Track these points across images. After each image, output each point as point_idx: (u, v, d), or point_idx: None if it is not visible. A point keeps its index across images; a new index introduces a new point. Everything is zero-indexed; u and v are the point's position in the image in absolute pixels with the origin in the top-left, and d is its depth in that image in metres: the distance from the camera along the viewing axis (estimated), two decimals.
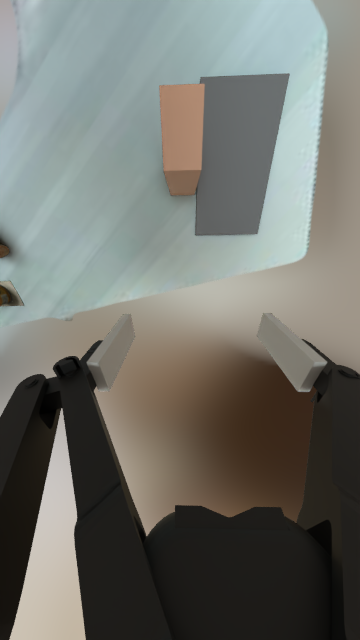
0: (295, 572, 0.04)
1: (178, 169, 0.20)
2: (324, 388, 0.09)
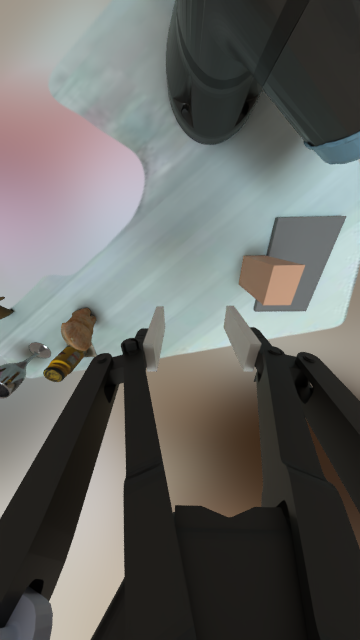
0: (296, 572, 0.04)
1: (274, 304, 0.28)
2: (261, 368, 0.10)
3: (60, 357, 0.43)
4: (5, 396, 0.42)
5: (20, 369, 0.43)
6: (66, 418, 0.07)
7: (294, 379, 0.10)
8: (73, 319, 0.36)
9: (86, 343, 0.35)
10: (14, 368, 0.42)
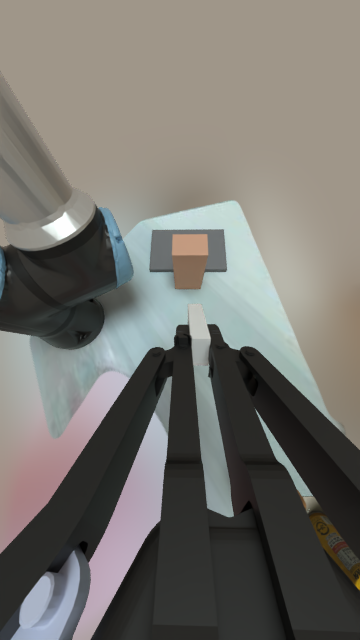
0: (296, 572, 0.04)
1: (207, 246, 0.30)
2: (212, 364, 0.11)
3: None
4: None
5: None
6: (122, 401, 0.07)
7: None
8: None
9: None
10: None
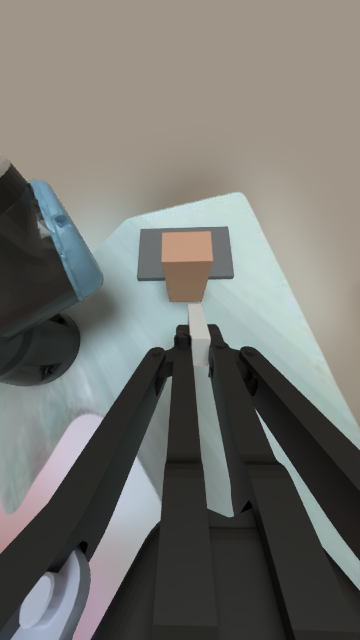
0: (296, 573, 0.04)
1: (211, 248, 0.21)
2: (212, 364, 0.11)
3: None
4: None
5: None
6: (122, 401, 0.07)
7: None
8: None
9: None
10: None
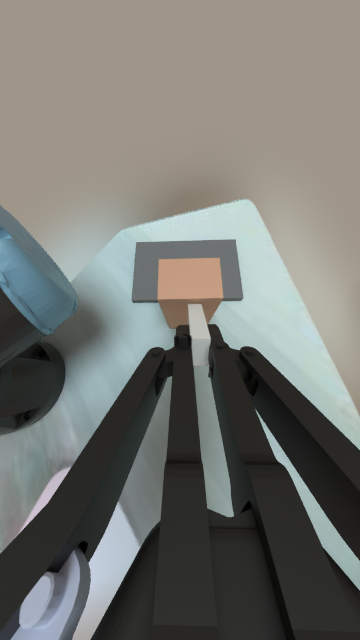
0: (296, 573, 0.04)
1: (220, 281, 0.17)
2: (212, 364, 0.11)
3: None
4: None
5: None
6: (122, 401, 0.07)
7: None
8: None
9: None
10: None
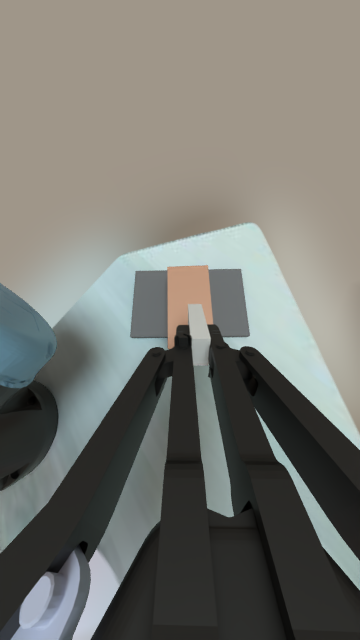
0: (295, 572, 0.04)
1: None
2: (212, 364, 0.11)
3: None
4: None
5: None
6: (122, 401, 0.07)
7: None
8: None
9: None
10: None
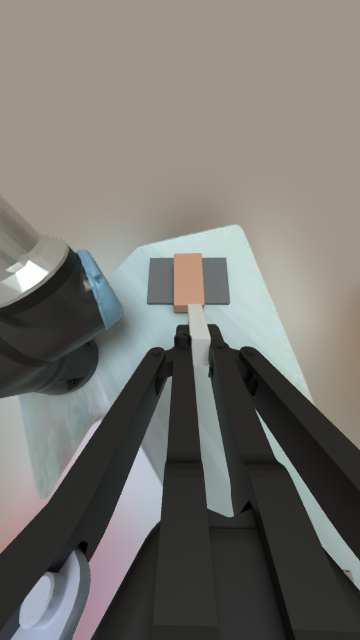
0: (296, 572, 0.04)
1: None
2: (212, 364, 0.11)
3: None
4: None
5: None
6: (122, 401, 0.07)
7: None
8: None
9: None
10: None
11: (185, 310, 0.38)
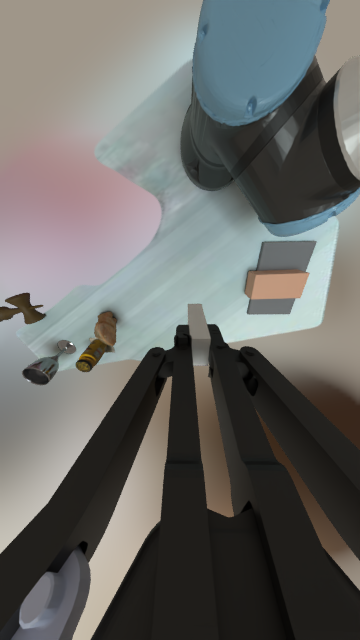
0: (296, 573, 0.04)
1: None
2: (212, 364, 0.11)
3: (88, 352, 0.53)
4: (44, 383, 0.51)
5: (55, 362, 0.53)
6: (122, 401, 0.07)
7: None
8: (102, 321, 0.46)
9: (114, 339, 0.45)
10: (51, 360, 0.52)
11: (248, 281, 0.45)
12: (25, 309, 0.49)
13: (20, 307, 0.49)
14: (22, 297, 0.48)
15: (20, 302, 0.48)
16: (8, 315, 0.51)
